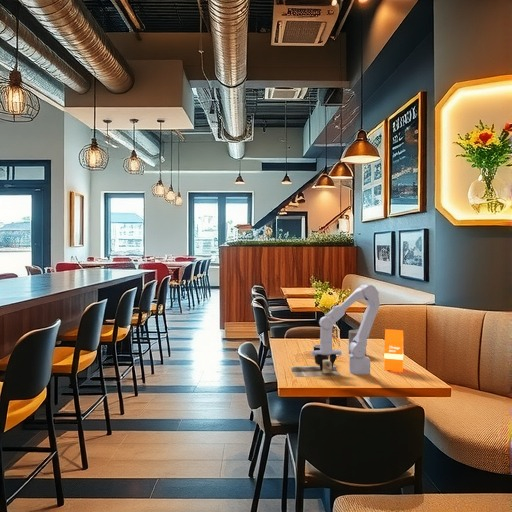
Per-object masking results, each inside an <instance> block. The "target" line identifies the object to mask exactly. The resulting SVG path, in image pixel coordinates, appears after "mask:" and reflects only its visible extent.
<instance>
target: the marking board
mask: <svg viewBox="0 0 512 512" xmlns="http://www.w3.org/2000/svg"><path fill="white" fill-rule="evenodd" d="M290 370H291V372H292V374H293V376H294V377H295V378H309V377H311V378H315V377H316V378H317V377H320V378H321V377H342V375H341V373H340V371H338V370H337V366H336V365H333V368H332V373H323V372H322V371H321V370H320V365H313V366H311V365H308V366H305V365H304V366H302V365H301V366H291V368H290Z"/></svg>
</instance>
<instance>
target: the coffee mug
mask: <svg viewBox="0 0 512 512" xmlns="http://www.w3.org/2000/svg"><path fill="white" fill-rule="evenodd" d="M312 346H313V347H312V348H313V351H316V350H320V344H314V345H312ZM322 357H323V360H330V357H329V355H322ZM314 362H315V364H318V365H319V362H318V359H317V357H316V355H314Z"/></svg>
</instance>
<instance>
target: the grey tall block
mask: <svg viewBox="0 0 512 512" xmlns="http://www.w3.org/2000/svg"><path fill="white" fill-rule="evenodd" d="M358 330H359V328H356V329H350V330H348V345H349V344H350V343H351V342H352V341H353V339H354V337H355V336H356V335H357V333H358ZM349 354H351V352H350V351H349V350H348V355H349ZM366 355H367V353H366V354H365V356H366Z"/></svg>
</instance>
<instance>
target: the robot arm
mask: <svg viewBox="0 0 512 512" xmlns="http://www.w3.org/2000/svg"><path fill="white" fill-rule="evenodd" d="M379 293H380V292H379V291H378V289H377V288H376V286H374V285H373V284H368V283H362V284H361V285H359V287H357V288H355V290H354V291H353V292H352V293H351V294H349V296H348V297H347V298H346V299H345V300H344V301H343V302H342V303H341V304H339V305H335V306H334V305H333V306H332V307H331V310H329V311H328V312H326V313H325V314H324V316H322V317H320V319H319V320H318V324H319V326H320V330H319V331H320V334H319V342H320V343H319V345H320V350H316V351H314V350H310V356H312V357H313V356H314V355H316V357H317V359H318V362H319V364H318V366H320V370H321V371H322V370H323V366H322V362H323V357H322V355H329V360H330V361H331V362H332V368H333V366H334V365H335V364H334V363H335V362H336V360H337V356H342V354H343V353H342V350H337V349H333V328H334V325H335V324H336V322H338V321H339V320H340V319H341V318H342V317H343V316H344V315H345V314H346V310H347V309H348V308H349V307H351V306H352V305H353V304H355V303H356V302H357V301H359V300H365V302H366V304H367V307H366V309H365V312H364V314H363V317H362V320H361V323H360V325H359V327H358V333H357V335H356V336H355V337H354V339H353V341H352V342H351V343H350V344H349V343H348V352H349V351H350V352H351V354H350V355H349V369H348V370H349V374H353V375H371V360H370V357H369V356H366V355H367V345H368V342H367V341H368V337H369V335H370V332H371V329H372V327H373V325H374V321H375V319H376V317H377V313H378V311H379V309H380V306H381V303H380V297H379ZM365 354H366V355H365ZM314 357H315V356H314Z"/></svg>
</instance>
